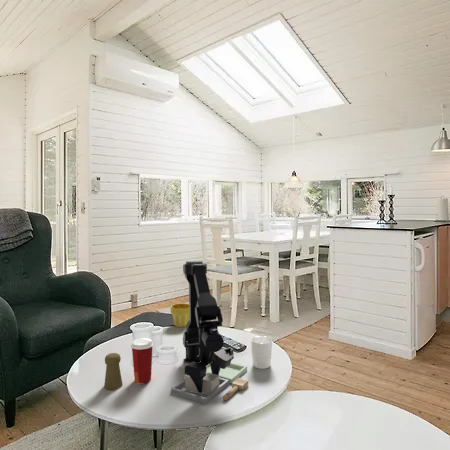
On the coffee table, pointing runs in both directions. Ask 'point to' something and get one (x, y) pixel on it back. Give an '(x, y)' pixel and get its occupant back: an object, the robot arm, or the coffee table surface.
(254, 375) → the coffee table surface
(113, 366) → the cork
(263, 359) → the white cup
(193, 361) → the robot arm
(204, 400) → the bin
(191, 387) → the beige cube
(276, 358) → the coffee table surface
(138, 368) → the paper cup
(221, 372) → the bin
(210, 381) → the beige cube
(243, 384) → the wooden mallet
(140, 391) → the coffee table surface
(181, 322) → the plant pot
